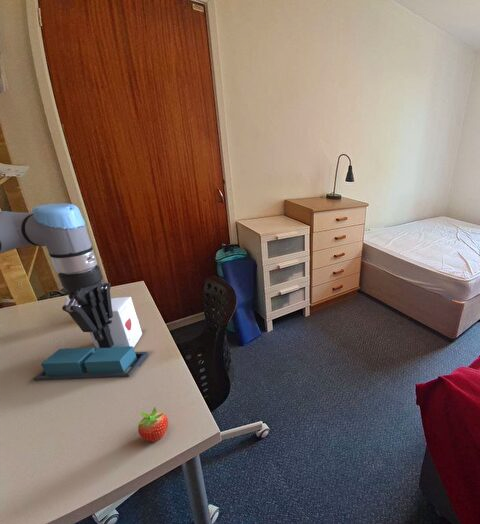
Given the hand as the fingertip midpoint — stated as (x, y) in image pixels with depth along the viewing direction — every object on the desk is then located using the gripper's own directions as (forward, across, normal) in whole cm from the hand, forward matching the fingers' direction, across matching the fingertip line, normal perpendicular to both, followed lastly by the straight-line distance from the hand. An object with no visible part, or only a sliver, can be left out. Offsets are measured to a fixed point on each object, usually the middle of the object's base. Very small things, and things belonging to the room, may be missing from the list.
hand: (107, 346), depth 77 cm
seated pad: (+8, 0, +11) cm, 13 cm away
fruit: (+8, -22, -23) cm, 33 cm away
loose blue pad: (+8, 0, 0) cm, 8 cm away
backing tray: (+8, 0, +5) cm, 10 cm away
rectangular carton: (+8, +11, +5) cm, 14 cm away
